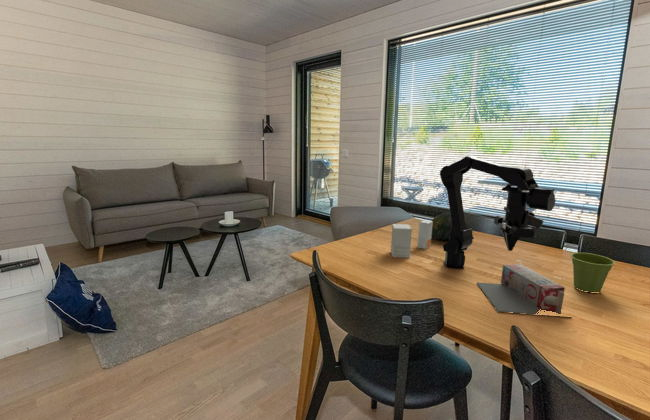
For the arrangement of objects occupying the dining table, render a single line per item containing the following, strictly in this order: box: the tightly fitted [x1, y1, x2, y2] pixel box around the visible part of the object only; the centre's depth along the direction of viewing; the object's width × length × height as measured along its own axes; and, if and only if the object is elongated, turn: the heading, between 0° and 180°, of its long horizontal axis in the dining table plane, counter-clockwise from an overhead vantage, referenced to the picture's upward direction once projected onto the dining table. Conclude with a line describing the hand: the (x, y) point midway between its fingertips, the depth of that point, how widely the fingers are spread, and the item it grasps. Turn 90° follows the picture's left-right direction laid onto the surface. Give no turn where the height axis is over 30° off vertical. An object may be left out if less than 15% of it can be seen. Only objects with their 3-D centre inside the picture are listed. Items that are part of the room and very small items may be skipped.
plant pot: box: [570, 252, 616, 293], centre depth 116 cm, size 12×12×11 cm
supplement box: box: [390, 223, 413, 259], centre depth 146 cm, size 7×7×13 cm
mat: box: [476, 282, 545, 314], centre depth 109 cm, size 20×20×1 cm
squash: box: [431, 211, 452, 241], centre depth 170 cm, size 14×15×15 cm
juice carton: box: [500, 263, 566, 314], centre depth 109 cm, size 7×7×22 cm
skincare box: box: [416, 219, 433, 250], centre depth 157 cm, size 6×4×12 cm
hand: (509, 250), depth 118 cm, fingers closed
